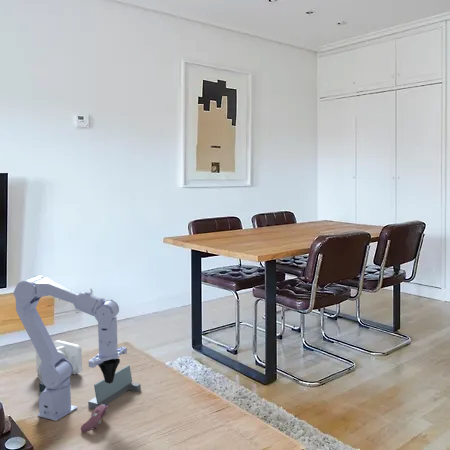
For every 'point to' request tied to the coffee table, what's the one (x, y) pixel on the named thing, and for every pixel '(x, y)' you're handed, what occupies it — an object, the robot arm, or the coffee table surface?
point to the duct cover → (113, 384)
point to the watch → (41, 385)
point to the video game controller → (95, 418)
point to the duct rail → (115, 395)
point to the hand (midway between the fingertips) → (109, 382)
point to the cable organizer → (67, 355)
